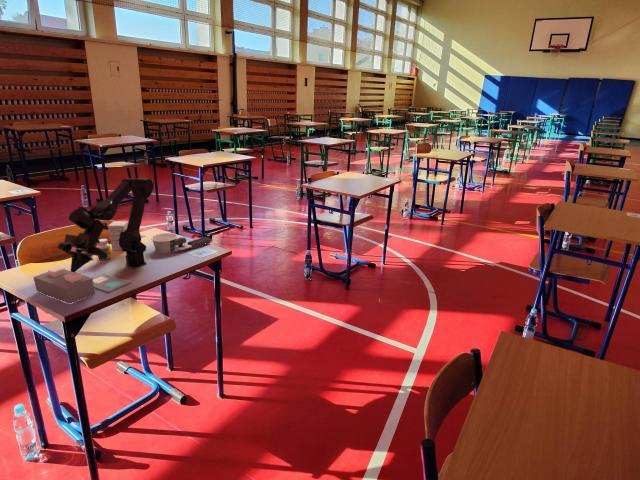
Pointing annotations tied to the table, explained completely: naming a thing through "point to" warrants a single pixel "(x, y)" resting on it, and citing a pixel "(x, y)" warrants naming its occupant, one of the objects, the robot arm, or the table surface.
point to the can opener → (190, 243)
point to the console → (64, 287)
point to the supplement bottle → (105, 249)
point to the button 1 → (56, 271)
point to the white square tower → (116, 233)
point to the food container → (164, 242)
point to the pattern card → (108, 283)
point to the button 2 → (73, 277)
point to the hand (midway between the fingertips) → (72, 271)
